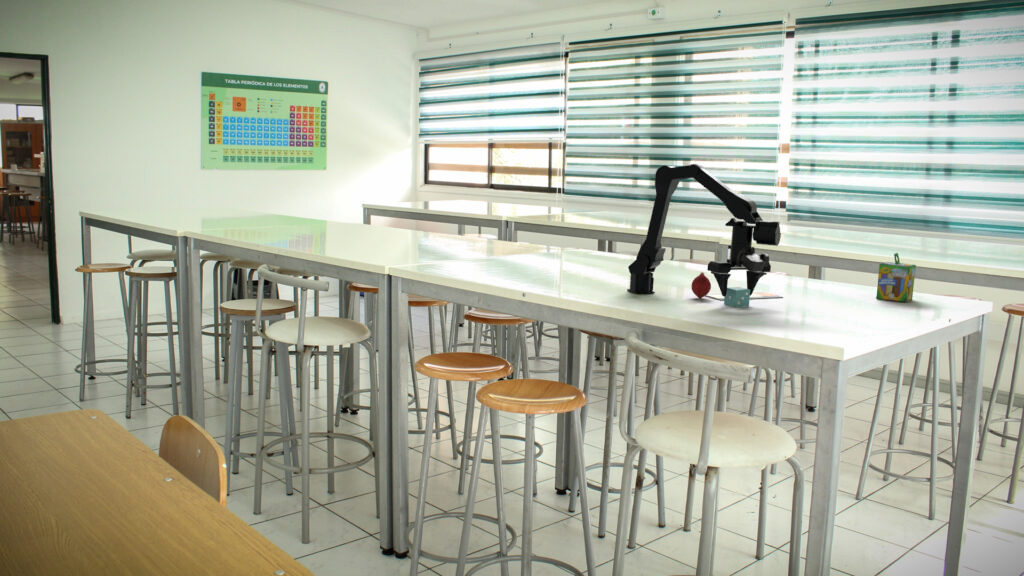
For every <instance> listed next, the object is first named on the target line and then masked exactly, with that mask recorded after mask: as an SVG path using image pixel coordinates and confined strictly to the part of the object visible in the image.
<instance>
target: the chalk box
mask: <svg viewBox="0 0 1024 576" xmlns="http://www.w3.org/2000/svg"><path fill="white" fill-rule="evenodd" d="M893 258H894V262H889V261H885V262H880V263H879V266H878V267H879V268H878V278H877V288H876V289H877V290H876V296H875V297H876V300H882V301H883V300H884V301H891V302H894V301H895V302H903V303H908V302H910V301H912V300H913V297H914V296H913V295H914V286H915V278H916V277H915V276H916V270H917V269H916V267H917V264H910V263H903V262H901V261H900V257H899V253H898V252H896V253H895V252H894V253H893Z"/></svg>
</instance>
